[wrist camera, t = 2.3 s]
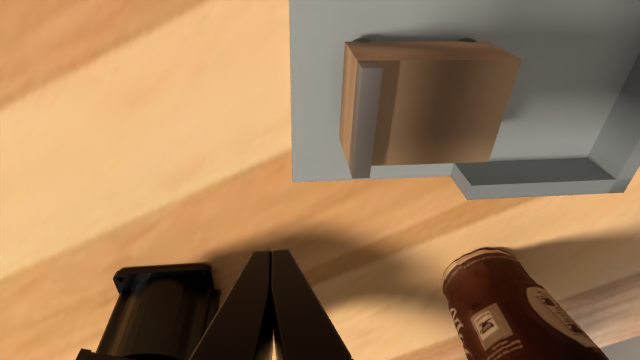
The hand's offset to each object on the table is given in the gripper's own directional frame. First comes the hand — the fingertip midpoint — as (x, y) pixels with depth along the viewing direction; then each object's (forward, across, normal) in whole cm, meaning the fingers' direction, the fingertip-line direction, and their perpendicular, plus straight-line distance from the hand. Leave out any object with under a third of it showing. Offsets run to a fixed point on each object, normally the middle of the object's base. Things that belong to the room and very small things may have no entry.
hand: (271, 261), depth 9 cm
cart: (+12, -7, 0) cm, 14 cm away
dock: (+12, -11, 0) cm, 17 cm away
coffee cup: (+13, -16, +16) cm, 26 cm away
